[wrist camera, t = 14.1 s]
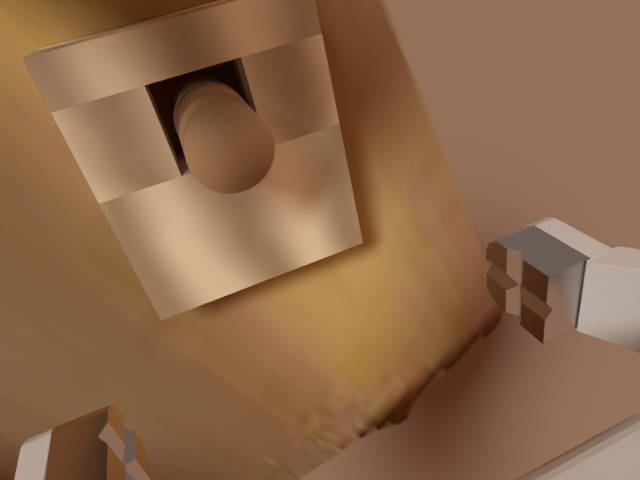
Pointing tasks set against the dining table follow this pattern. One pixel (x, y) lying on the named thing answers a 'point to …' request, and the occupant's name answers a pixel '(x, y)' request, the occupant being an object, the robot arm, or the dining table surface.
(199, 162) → the peg
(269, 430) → the dining table surface
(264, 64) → the board
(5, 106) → the dining table surface
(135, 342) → the dining table surface
